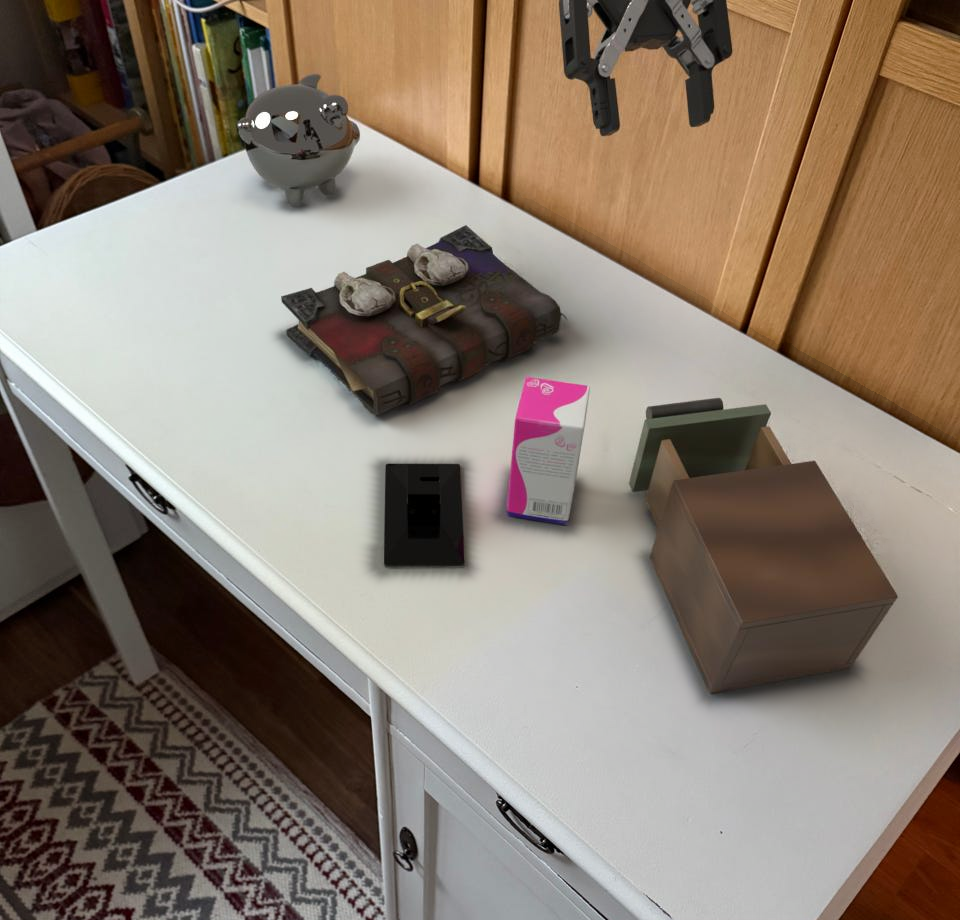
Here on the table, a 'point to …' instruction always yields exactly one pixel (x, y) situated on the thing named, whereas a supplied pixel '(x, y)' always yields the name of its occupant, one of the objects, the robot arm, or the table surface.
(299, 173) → the piggy bank
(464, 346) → the book
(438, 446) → the table surface
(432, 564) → the black plastic holder
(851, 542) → the cabinet
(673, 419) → the drawer
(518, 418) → the supplement box
